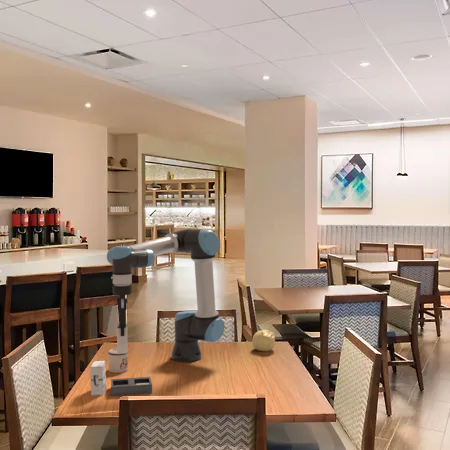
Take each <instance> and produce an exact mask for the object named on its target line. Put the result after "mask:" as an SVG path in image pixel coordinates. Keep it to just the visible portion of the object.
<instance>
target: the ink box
mask: <svg viewBox="0 0 450 450" xmlns="http://www.w3.org/2000/svg"><path fill="white" fill-rule="evenodd" d="M89 370H90V395H91V396H104V395H105V392H106V391H107V377H106V373H107V371H106V370H107V369H106V360H98V361H97V360H96V361H95V360H94V361H93V363H92V364H91V366H90V369H89Z"/></svg>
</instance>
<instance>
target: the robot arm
mask: <svg viewBox="0 0 450 450" xmlns="http://www.w3.org/2000/svg"><path fill="white" fill-rule="evenodd" d="M220 245H221V243H220V238H219V236H218V234H217V233H216V232H215V231H214V230H209V229H206V228H205V229H204V228H202V229H197V228H196V229H195V228H194V229H192V228H188V229H182V230H177V231H174V232H171V233H170V232H169V233H167V234H166V235H165V236H164V237H159V238H155V239H151V240H148V241H144V242H138V243H136V244H131V245H118V246H117V245H116V246H114V247H112V248H110V249H108V251H107V253H106V260H107V262H108V263H109V264H111V265H112V266H111V267H112V276H111V277H110V279H111V280H112V295H113V296H118V298H117V300H116V302H117V310H118V322H119V327H117V326H116V329H117V328H119V344H126V322H127V321H126V320H127V319H126V318H127V317H126V316H127V315H126V314H127V313H126V312H127V310H128V307H127V304H128V298H127V297H126V296H130V295H131V294H132V292H133V291H132V288H133V287H132V285H131V284H132V283H133V280H132V279H133V277H132V276H133V274H132V270H133V269H138V268H139V269H140V268H149V267H152V266H153V265H154V264H155V260H156V259H155V257H158V256H161V255H164V254H168V253H169V254H176V253H187V254H190V259H191V261H193V262H194V275H195V288H196V289H195V290H196V291H195V292H196V304H197V305H196V306H197V310H185V311H179V312H177V313H176V314H174V315H175V316H174V343H173V347H172V350H171V356H170V357H171V359H172V361H177V362H187V363H188V362H195V361H199V360H201V359H202V356H203V355H202V354H203V353H202V349H201V347H200V344H199V343H200V342H199V341H204V342H207V343H216V342H218V341H219V340H220V339H221V338H222V337H223V335H224V332H225V327H226V326H225V324H226V323H225V321H224V320H223V319H222V318H221V317H220V314H219V313H220V312H219V311H218V310H216V299H215V298H216V297H215V283H214V281H215V279H214V264H213V261H214V259H215V258H216V255H217V254H218V252H219V251H220V250H219V249H220V248H221V247H220Z"/></svg>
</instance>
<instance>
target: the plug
mask: <svg viewBox="0 0 450 450" xmlns="http://www.w3.org/2000/svg"><path fill="white" fill-rule="evenodd" d="M117 327H119V321H116V345H117V354H124V353H127V350H128V321H126V344H119V328H117Z"/></svg>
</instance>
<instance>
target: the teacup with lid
mask: <svg viewBox="0 0 450 450" xmlns="http://www.w3.org/2000/svg"><path fill="white" fill-rule="evenodd" d="M107 353H108V371H109V372H110V373H112V374H123V373H125V372H127V371H128V370H129V350H128V349H127V353H124V354H117V344H116V346H115V347H113V348H111V349H109V350H108V351H107Z"/></svg>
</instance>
